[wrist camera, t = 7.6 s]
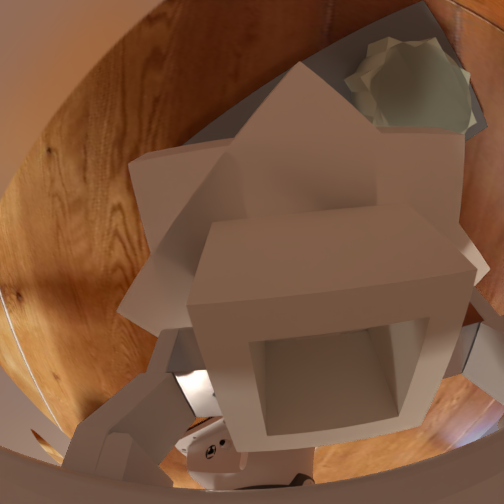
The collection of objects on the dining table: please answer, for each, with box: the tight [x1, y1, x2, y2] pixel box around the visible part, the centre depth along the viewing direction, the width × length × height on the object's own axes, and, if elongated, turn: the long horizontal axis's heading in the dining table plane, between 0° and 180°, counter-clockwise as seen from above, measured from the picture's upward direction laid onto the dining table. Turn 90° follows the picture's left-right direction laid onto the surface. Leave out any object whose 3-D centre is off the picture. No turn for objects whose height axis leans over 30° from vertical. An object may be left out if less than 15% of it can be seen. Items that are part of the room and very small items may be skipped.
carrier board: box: [182, 0, 488, 146], centre depth 20 cm, size 24×12×6 cm, turn 126°
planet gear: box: [116, 61, 490, 452], centre depth 8 cm, size 13×13×5 cm
